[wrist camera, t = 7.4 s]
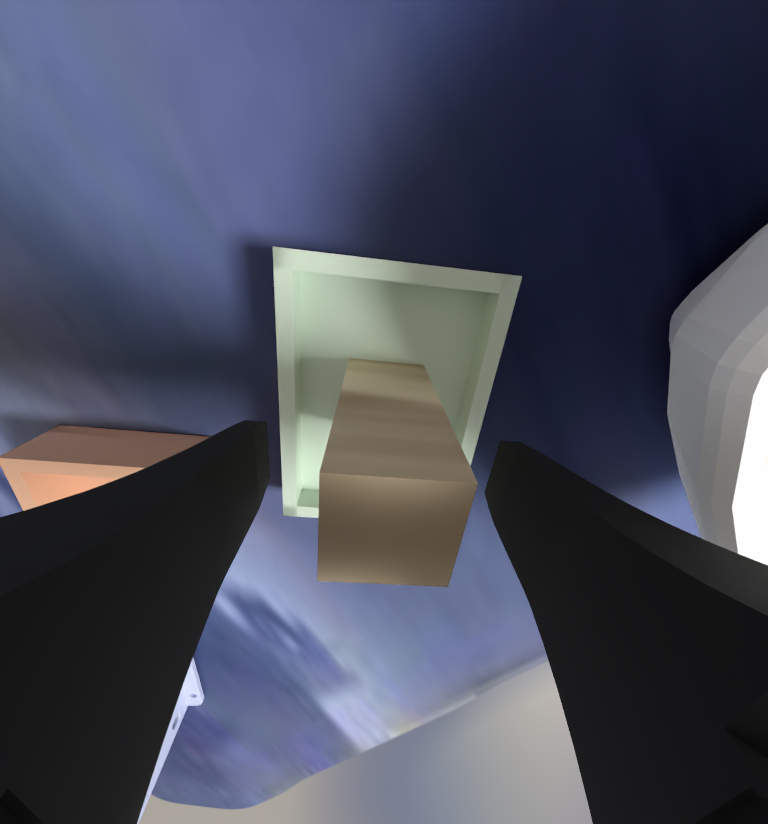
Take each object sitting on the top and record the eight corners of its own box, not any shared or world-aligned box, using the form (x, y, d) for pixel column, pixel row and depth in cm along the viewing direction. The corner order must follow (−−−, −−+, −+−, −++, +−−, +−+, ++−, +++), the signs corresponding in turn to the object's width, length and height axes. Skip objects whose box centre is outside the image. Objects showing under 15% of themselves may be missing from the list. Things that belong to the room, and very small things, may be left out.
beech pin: (412, 429, 14) (447, 587, 7) (345, 424, 14) (317, 580, 7) (423, 365, 13) (477, 483, 6) (349, 357, 13) (319, 472, 6)
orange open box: (226, 539, 17) (202, 582, 15) (100, 532, 17) (56, 576, 15) (210, 436, 15) (179, 470, 12) (58, 424, 14) (-4, 457, 12)
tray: (446, 500, 17) (454, 526, 15) (292, 489, 16) (283, 515, 14) (502, 273, 12) (522, 276, 10) (287, 248, 11) (272, 246, 10)
